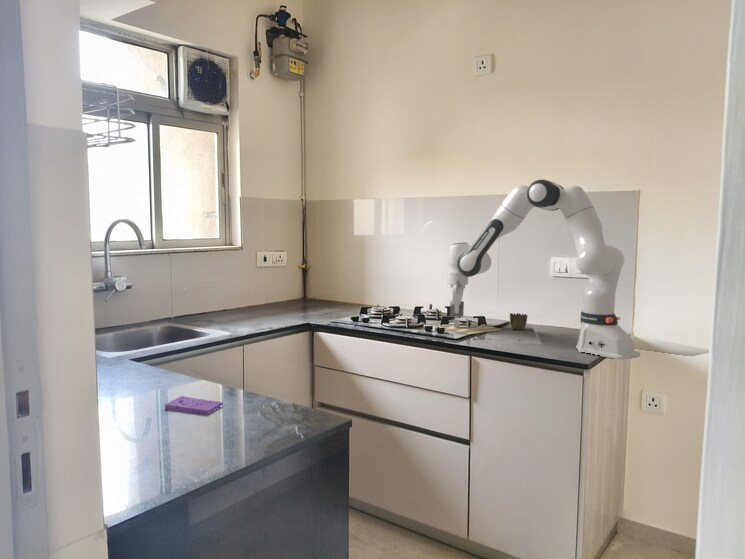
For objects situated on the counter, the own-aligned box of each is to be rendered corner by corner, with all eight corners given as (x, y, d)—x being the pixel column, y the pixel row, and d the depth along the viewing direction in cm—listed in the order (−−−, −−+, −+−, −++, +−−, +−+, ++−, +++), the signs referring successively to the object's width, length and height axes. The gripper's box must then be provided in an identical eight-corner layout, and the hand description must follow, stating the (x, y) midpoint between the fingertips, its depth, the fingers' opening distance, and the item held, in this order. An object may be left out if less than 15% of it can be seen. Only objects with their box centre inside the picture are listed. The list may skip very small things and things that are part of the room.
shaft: (459, 326, 249) (459, 319, 249) (459, 327, 247) (459, 320, 247) (453, 326, 250) (454, 319, 249) (453, 327, 247) (453, 320, 247)
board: (502, 332, 245) (503, 329, 245) (468, 337, 234) (468, 333, 234) (470, 325, 261) (470, 321, 261) (436, 329, 250) (436, 325, 250)
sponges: (181, 402, 149) (181, 395, 148) (223, 408, 145) (223, 401, 145) (164, 411, 142) (163, 403, 142) (208, 417, 138) (207, 409, 138)
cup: (527, 334, 241) (528, 316, 241) (509, 333, 243) (510, 315, 242) (526, 331, 249) (526, 313, 248) (508, 330, 250) (509, 312, 249)
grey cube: (463, 314, 250) (464, 300, 250) (463, 316, 245) (463, 302, 244) (450, 314, 251) (450, 299, 251) (449, 316, 246) (450, 301, 245)
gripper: (464, 282, 235) (463, 316, 237) (465, 278, 255) (465, 308, 257) (449, 282, 237) (448, 315, 238) (451, 277, 257) (450, 307, 258)
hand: (457, 311), depth 248 cm, fingers closed on grey cube, 6 cm apart
